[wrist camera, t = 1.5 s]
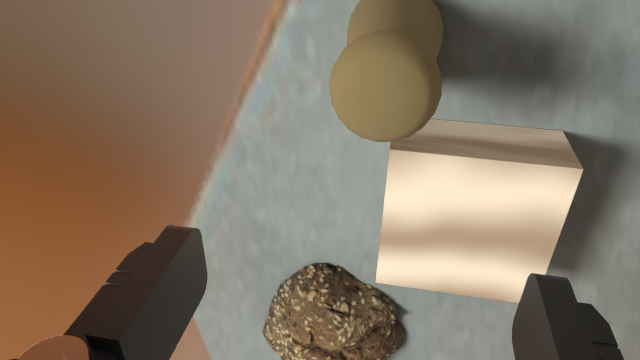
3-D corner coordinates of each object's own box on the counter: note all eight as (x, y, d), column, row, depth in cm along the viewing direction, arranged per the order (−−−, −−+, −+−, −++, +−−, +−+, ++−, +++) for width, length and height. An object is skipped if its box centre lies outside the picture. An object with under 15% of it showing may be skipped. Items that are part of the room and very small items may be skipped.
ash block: (394, 115, 33) (389, 149, 29) (562, 130, 31) (583, 169, 27) (380, 239, 39) (375, 282, 35) (521, 257, 37) (534, 305, 33)
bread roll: (252, 323, 48) (235, 364, 44) (305, 244, 41) (291, 285, 37) (361, 377, 49) (356, 423, 45) (430, 310, 42) (431, 357, 38)
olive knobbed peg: (392, -39, 28) (376, 0, 19) (465, 29, 29) (484, 97, 20) (328, 39, 31) (288, 105, 22) (397, 98, 32) (386, 184, 23)
